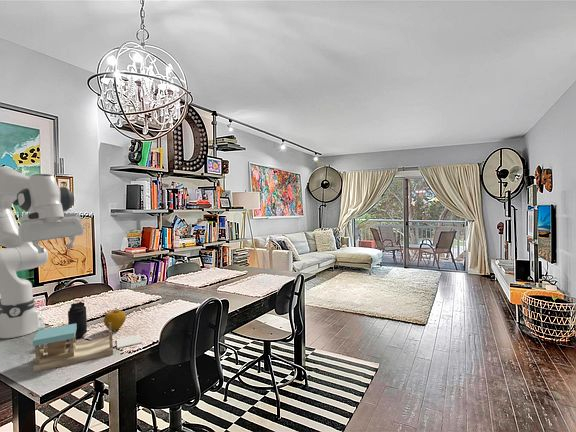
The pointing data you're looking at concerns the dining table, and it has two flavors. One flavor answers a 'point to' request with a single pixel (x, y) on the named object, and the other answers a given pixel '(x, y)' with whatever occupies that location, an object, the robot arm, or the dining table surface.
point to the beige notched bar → (74, 352)
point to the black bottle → (78, 318)
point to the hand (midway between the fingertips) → (56, 250)
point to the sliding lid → (55, 334)
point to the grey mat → (128, 341)
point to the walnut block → (56, 348)
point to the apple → (115, 319)
